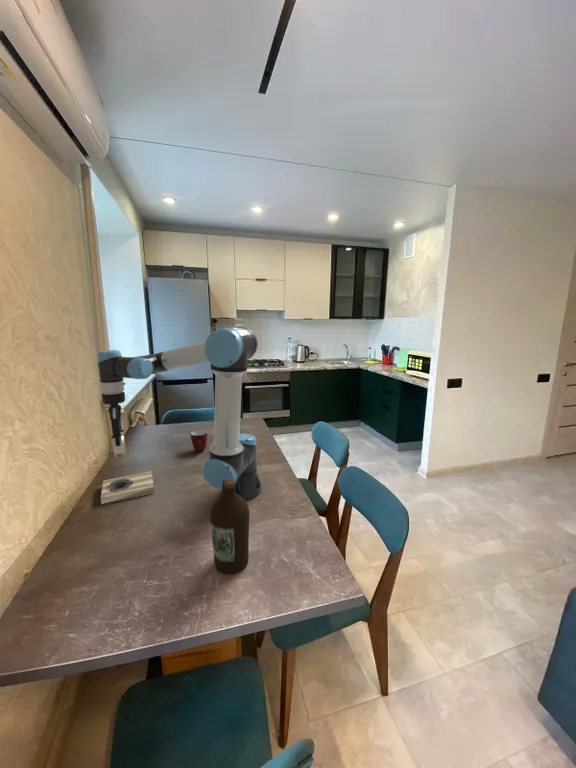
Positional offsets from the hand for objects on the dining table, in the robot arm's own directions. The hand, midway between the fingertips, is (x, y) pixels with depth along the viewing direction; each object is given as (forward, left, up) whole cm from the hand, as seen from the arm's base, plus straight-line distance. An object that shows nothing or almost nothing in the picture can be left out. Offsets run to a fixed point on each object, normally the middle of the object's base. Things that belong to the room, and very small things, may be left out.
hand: (119, 450), depth 121 cm
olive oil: (-55, -28, -17) cm, 64 cm away
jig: (0, -2, -17) cm, 17 cm away
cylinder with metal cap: (0, 0, -2) cm, 2 cm away
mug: (+25, -35, -17) cm, 46 cm away
